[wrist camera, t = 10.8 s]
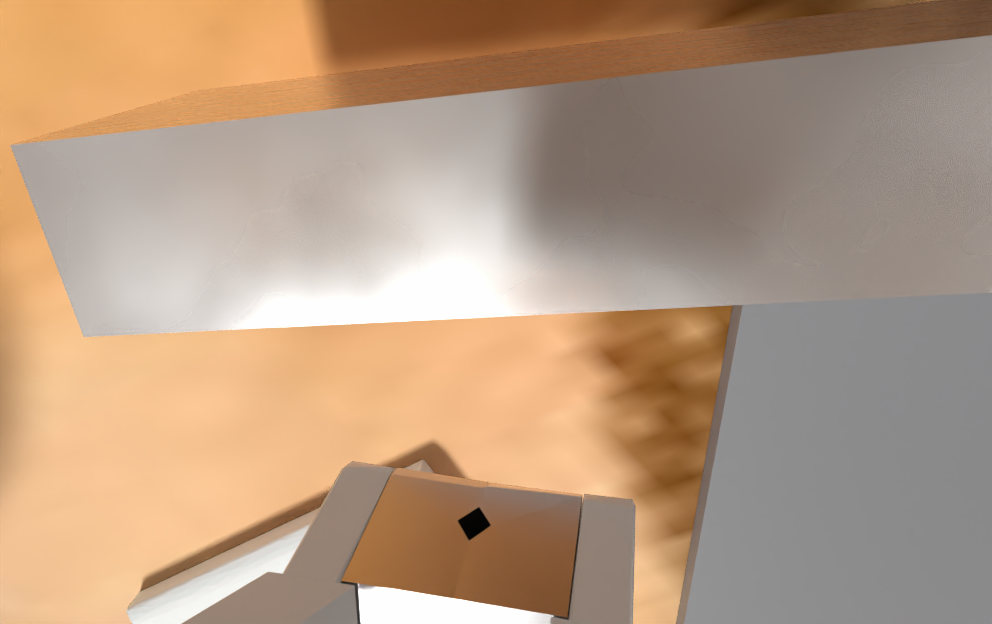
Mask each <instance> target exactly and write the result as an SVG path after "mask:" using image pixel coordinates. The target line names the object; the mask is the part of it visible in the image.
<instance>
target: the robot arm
mask: <svg viewBox="0 0 992 624" xmlns="http://www.w3.org/2000/svg"><path fill="white" fill-rule="evenodd" d="M581 507H582V511H581ZM580 518H581V520H580ZM579 529H580V530H579ZM634 547H635V505H634V502H633V500H632V499H623V498H615V497H606V496H597V495H589V494H584V498H583V502H582V495H580V494H573V493H565V492H557V491H550V490H542V489H535V488H527V487H519V486H512V485H504V484H497V483H489V482H484V481H477V480H471V479H465V478H459V477H453V476H447V475H440V474H434V473H428V472H422V471H416V470H410V469H404V468H397V469H395V468H392V467H386V466H380V465H374V464H367V463H361V462H355V461H352V462H351V463H349V464H348V465H346V466H345V467H344V468H343V469H342V470H341V471H340V473H339V475H338V477H337V479H336V480H335V482H334V484H333V486H332V487H331V489H330V491H329V493H328V494H327V496H326V498H325V500H324V501H323V503H322V505H321V507H320V509H319V510H318V512H317V514H316V516H315V517H314V519H313V521H312V523H311V524H310V526H309V528H308V530H307V531H306V533H305V535H304V537H303V538H302V540H301V542H300V544H299V546H298V547H297V549H296V551H295V553H294V554H293V556H292V558H291V560H290V561H289V563H288V565H287V567H286V568H285V570H284V572H283V574H282V573H275V572H267V573H265V574H263V575H262V576H260V577H258V578H257V579H255V580H253V581H251V582H250V583H248V584H247V585H245V586H243V587H241V588H240V589H238V590H236V591H235V592H233V593H231V594H230V595H228V596H226V597H225V598H223V599H221V600H220V601H218V602H216V603H215V604H213V605H211V606H210V607H208V608H206V609H205V610H203V611H201V612H200V613H198V614H196V615H195V616H193V617H191V618H190V619H188V620H186V621H185V622H183V623H181V624H633V592H634Z"/></svg>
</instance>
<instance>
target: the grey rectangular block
mask: <svg viewBox="0 0 992 624" xmlns="http://www.w3.org/2000/svg"><path fill="white" fill-rule="evenodd" d="M11 148H12V151H13V153H14V156H15V159H16V161H17V164H18V166H19V169H20V172H21V174H22V177H23V179H24V182H25V185H26V187H27V190H28V192H29V195H30V198H31V200H32V203H33V206H34V208H35V211H36V213H37V216H38V219H39V221H40V224H41V226H42V229H43V232H44V234H45V237H46V239H47V242H48V245H49V247H50V250H51V252H52V255H53V258H54V260H55V263H56V266H57V268H58V271H59V273H60V276H61V279H62V281H63V284H64V286H65V289H66V292H67V294H68V297H69V299H70V302H71V305H72V307H73V310H74V313H75V315H76V318H77V320H78V323H79V326H80V328H81V331H82V333H83V336H84V337H92V336H113V335H133V334H154V333H174V332H195V331H215V330H236V329H256V328H277V327H297V326H318V325H338V324H359V323H379V322H400V321H420V320H441V319H461V318H482V317H502V316H523V315H543V314H564V313H584V312H605V311H625V310H646V309H666V308H687V307H707V306H728V305H748V304H769V303H789V302H810V301H830V300H851V299H871V298H892V297H912V296H933V295H953V294H974V293H992V0H938V1H930V2H922V3H914V4H905V5H897V6H889V7H881V8H873V9H864V10H856V11H848V12H840V13H832V14H823V15H815V16H807V17H799V18H791V19H782V20H774V21H766V22H758V23H750V24H741V25H733V26H725V27H717V28H709V29H700V30H692V31H684V32H676V33H668V34H659V35H651V36H643V37H635V38H627V39H618V40H610V41H602V42H594V43H586V44H577V45H569V46H561V47H553V48H545V49H536V50H528V51H520V52H512V53H504V54H495V55H487V56H479V57H471V58H463V59H454V60H446V61H438V62H430V63H422V64H413V65H405V66H397V67H389V68H381V69H372V70H364V71H356V72H348V73H340V74H331V75H323V76H315V77H307V78H299V79H290V80H282V81H274V82H266V83H258V84H249V85H241V86H233V87H225V88H217V89H208V90H200V91H195V92H191V93H188V94H184V95H181V96H177V97H174V98H171V99H167V100H164V101H160V102H157V103H153V104H150V105H146V106H143V107H140V108H136V109H133V110H129V111H126V112H122V113H119V114H115V115H112V116H109V117H105V118H102V119H98V120H95V121H91V122H88V123H84V124H81V125H78V126H74V127H71V128H67V129H64V130H60V131H57V132H53V133H50V134H47V135H43V136H40V137H36V138H33V139H29V140H26V141H22V142H19V143H16V144H12V145H11Z"/></svg>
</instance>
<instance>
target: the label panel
mask: <svg viewBox="0 0 992 624" xmlns="http://www.w3.org/2000/svg"><path fill="white" fill-rule="evenodd" d="M676 624H992V293H974V294H953V295H933V296H912V297H892V298H871V299H851V300H830V301H810V302H789V303H769V304H748V305H733V307H732V313H731V319H730V324H729V330H728V335H727V341H726V347H725V352H724V358H723V364H722V369H721V375H720V380H719V386H718V392H717V397H716V403H715V408H714V414H713V420H712V425H711V431H710V437H709V442H708V448H707V453H706V459H705V465H704V470H703V476H702V481H701V487H700V493H699V498H698V504H697V510H696V515H695V521H694V526H693V532H692V538H691V543H690V549H689V554H688V560H687V566H686V571H685V577H684V582H683V588H682V594H681V599H680V605H679V611H678V616H677V622H676Z"/></svg>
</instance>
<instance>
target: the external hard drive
mask: <svg viewBox="0 0 992 624" xmlns="http://www.w3.org/2000/svg"><path fill="white" fill-rule="evenodd" d="M404 469H410V470H416V471H422V472H428V473H434V472H433V471H432V469H431V468H430V467H429V465H428V464H427V463H426V461H425V460H420V461H418V462H416V463H414V464H412V465H410V466H408V467H405V468H404ZM434 474H435V473H434ZM319 509H320V507H319V508H317V509H315V510H313V511H311V512H309V513H307V514H304V515H302V516H300V517H298V518H296V519H294V520H292V521H289V522H287V523H285V524H283V525H281V526H279V527H277V528H275V529H272V530H270V531H268V532H266V533H264V534H262V535H260V536H258V537H255V538H253V539H251V540H249V541H247V542H245V543H243V544H241V545H238V546H236V547H234V548H232V549H230V550H228V551H225V552H223V553H221V554H219V555H217V556H215V557H212V558H210V559H208V560H206V561H204V562H202V563H200V564H198V565H196V566H193V567H191V568H189V569H187V570H185V571H183V572H181V573H178V574H176V575H174V576H172V577H170V578H168V579H166V580H164V581H161V582H159V583H157V584H155V585H153V586H151V587H149V588H147V589H144V590H142V591H140V592H139V593H138V595H137V596H136V597H135V599H134V600H133V601H132V602H131V603H130V605H129V606H128V608H127V614H128V616H129V619H130V621H131V622H132V624H181V623H183V622H185V621H186V620H188V619H190V618H191V617H193V616H195V615H196V614H198V613H200V612H201V611H203V610H205V609H206V608H208V607H210V606H211V605H213V604H215V603H216V602H218V601H220V600H221V599H223V598H225V597H226V596H228V595H230V594H231V593H233V592H235V591H236V590H238V589H240V588H241V587H243V586H245V585H247V584H248V583H250V582H251V581H253V580H255V579H257V578H258V577H260V576H262V575H263V574H265V573H267V572H275V573H282V574H283V572H284V570H285V568H286V567H287V565H288V563H289V561H290V560H291V558H292V556H293V554H294V553H295V551H296V549H297V547H298V546H299V544H300V542H301V540H302V538H303V537H304V535H305V533H306V531H307V530H308V528H309V526H310V524H311V523H312V521H313V519H314V517H315V516H316V514H317V512H318V510H319Z"/></svg>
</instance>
